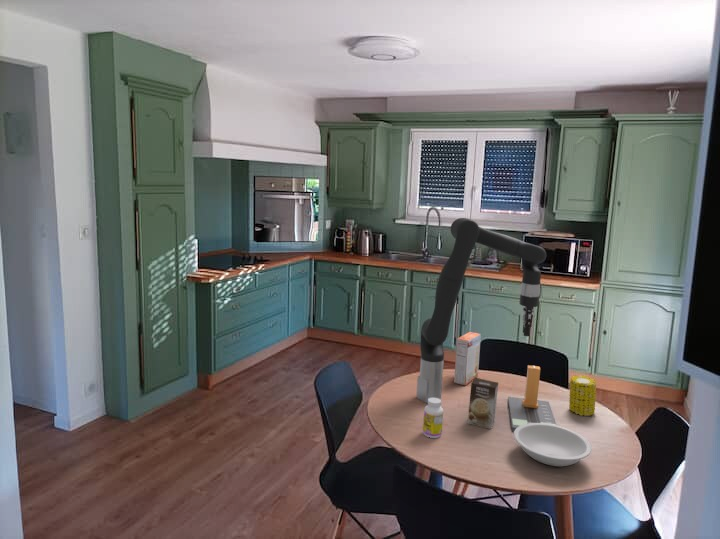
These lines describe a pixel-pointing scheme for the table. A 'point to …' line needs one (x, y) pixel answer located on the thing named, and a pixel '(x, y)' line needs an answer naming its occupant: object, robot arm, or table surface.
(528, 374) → the block
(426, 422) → the supplement bottle
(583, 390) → the food
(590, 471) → the table surface
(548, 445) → the soup bowl
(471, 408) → the coffee box
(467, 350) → the cracker box
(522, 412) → the fader board
